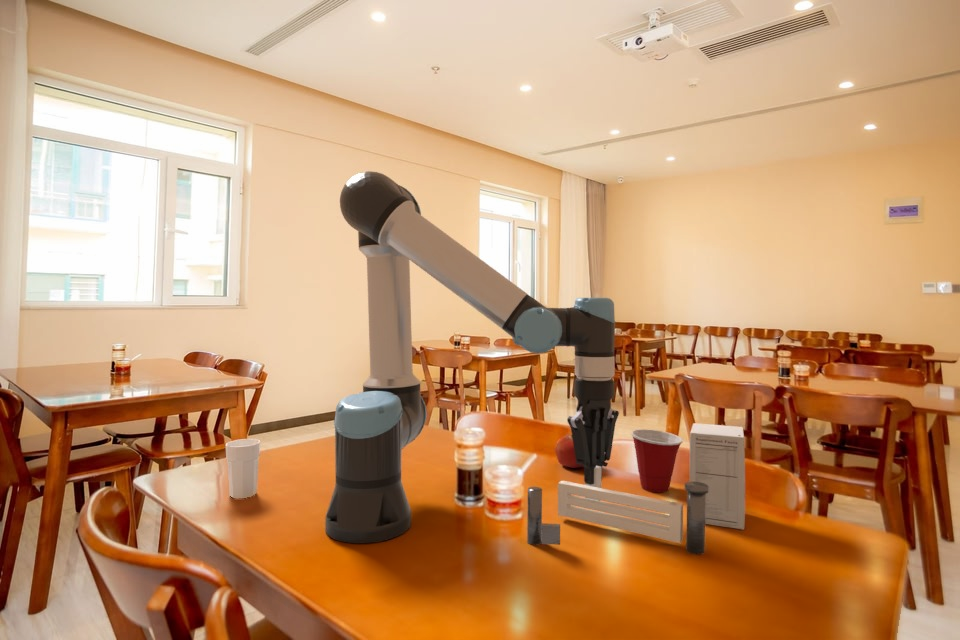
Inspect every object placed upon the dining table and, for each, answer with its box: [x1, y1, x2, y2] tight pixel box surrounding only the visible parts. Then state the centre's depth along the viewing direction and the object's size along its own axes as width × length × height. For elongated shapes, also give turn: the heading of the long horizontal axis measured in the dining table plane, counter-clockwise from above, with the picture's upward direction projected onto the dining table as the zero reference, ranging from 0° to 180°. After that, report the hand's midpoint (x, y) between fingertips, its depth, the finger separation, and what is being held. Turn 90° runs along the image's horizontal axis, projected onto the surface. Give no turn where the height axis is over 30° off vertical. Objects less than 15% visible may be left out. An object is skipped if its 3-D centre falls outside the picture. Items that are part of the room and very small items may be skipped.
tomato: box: [554, 434, 584, 469], centre depth 133 cm, size 9×9×8 cm
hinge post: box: [684, 481, 709, 556], centre depth 87 cm, size 4×4×11 cm
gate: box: [557, 480, 684, 544], centre depth 94 cm, size 22×2×6 cm, turn 58°
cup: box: [225, 438, 261, 499], centre depth 112 cm, size 7×7×11 cm
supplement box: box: [689, 422, 746, 530], centre depth 101 cm, size 10×9×17 cm
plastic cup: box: [630, 428, 684, 494], centre depth 117 cm, size 11×11×12 cm
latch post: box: [526, 486, 561, 546], centre depth 89 cm, size 5×4×9 cm
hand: (593, 499), depth 104 cm, fingers closed
